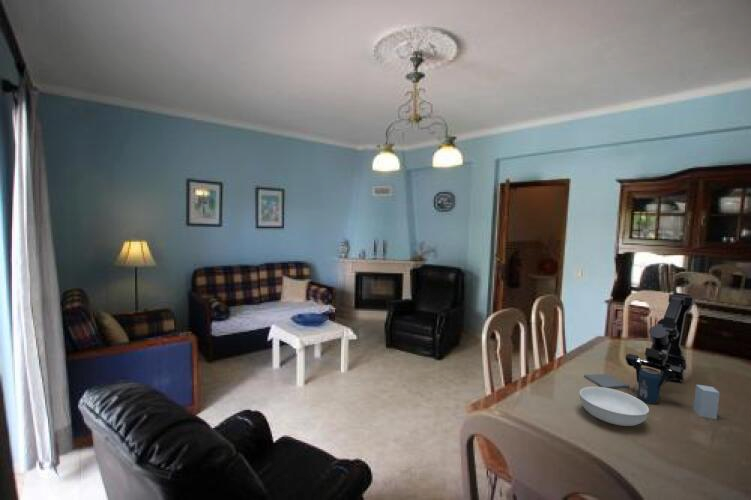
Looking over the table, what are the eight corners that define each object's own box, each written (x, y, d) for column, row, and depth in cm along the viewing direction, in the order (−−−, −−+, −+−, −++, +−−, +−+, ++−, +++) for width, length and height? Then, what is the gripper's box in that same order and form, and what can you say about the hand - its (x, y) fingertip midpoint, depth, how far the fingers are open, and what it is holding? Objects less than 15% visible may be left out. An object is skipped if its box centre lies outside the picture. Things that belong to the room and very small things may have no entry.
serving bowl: (649, 442, 120) (651, 421, 119) (575, 421, 131) (577, 402, 130) (644, 414, 138) (646, 396, 137) (580, 398, 149) (581, 381, 148)
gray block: (693, 410, 142) (696, 384, 141) (709, 412, 140) (712, 387, 139) (699, 416, 137) (702, 390, 136) (716, 419, 135) (719, 392, 134)
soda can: (657, 398, 149) (660, 369, 148) (659, 406, 143) (662, 375, 142) (636, 394, 153) (639, 365, 152) (637, 400, 147) (640, 371, 146)
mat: (607, 375, 171) (607, 373, 171) (629, 387, 159) (629, 385, 159) (583, 376, 169) (583, 374, 169) (604, 389, 157) (604, 386, 157)
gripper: (629, 334, 156) (617, 366, 150) (686, 347, 141) (675, 383, 135) (633, 348, 161) (622, 380, 155) (689, 362, 147) (678, 397, 141)
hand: (648, 384), depth 147 cm, fingers closed on soda can, 7 cm apart
